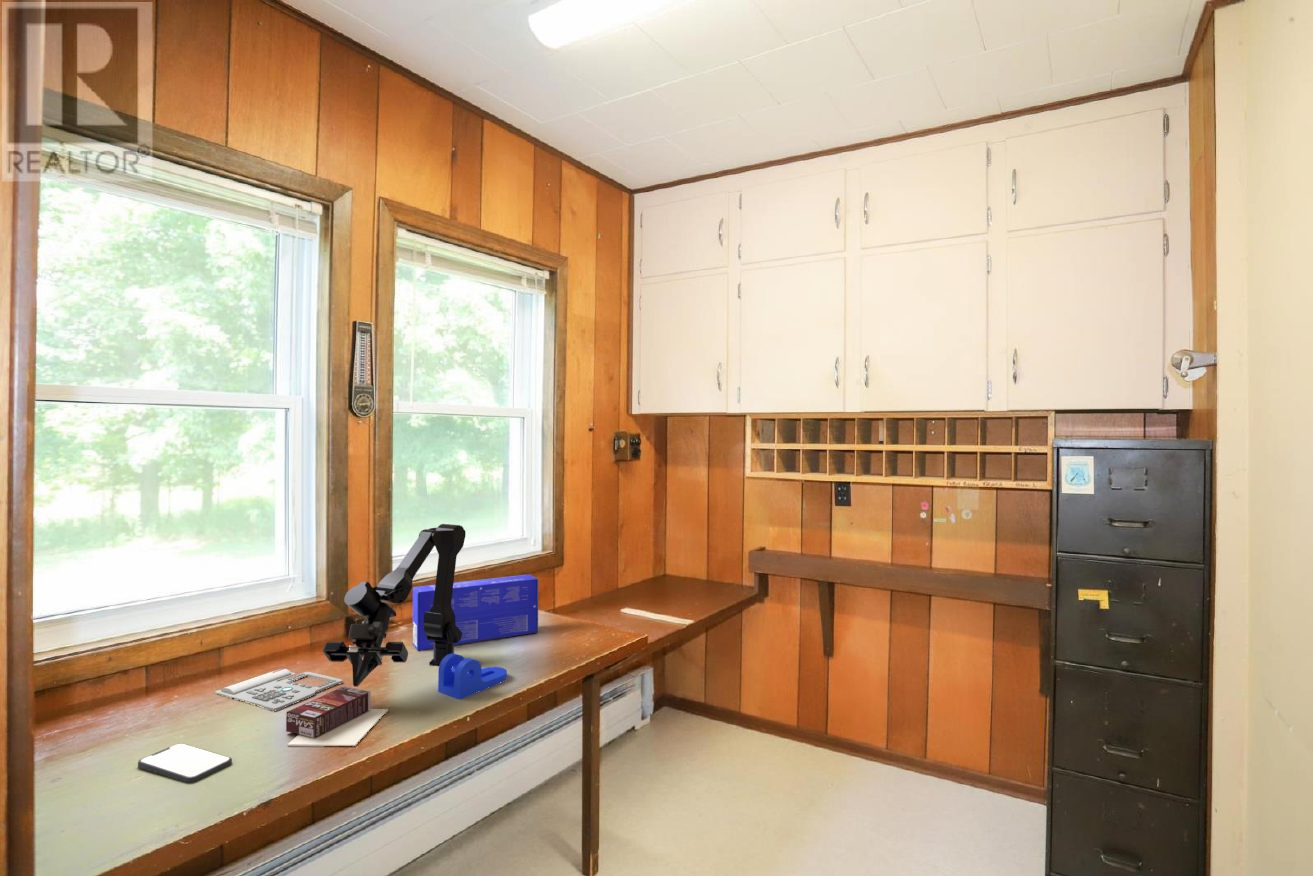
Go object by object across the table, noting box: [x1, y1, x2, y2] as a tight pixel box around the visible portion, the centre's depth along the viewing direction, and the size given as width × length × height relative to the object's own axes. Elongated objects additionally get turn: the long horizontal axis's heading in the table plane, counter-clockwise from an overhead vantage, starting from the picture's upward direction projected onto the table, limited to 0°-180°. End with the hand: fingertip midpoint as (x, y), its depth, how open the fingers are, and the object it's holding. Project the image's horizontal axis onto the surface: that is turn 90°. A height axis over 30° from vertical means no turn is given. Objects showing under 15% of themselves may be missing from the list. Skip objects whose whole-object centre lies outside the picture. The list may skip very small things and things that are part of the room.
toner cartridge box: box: [412, 574, 539, 652], centre depth 212 cm, size 39×8×18 cm, turn 121°
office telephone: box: [214, 667, 343, 712], centre depth 168 cm, size 23×3×20 cm
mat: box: [287, 708, 389, 747], centre depth 147 cm, size 18×14×1 cm
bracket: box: [437, 652, 508, 701], centre depth 173 cm, size 18×8×9 cm, turn 145°
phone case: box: [137, 743, 233, 784], centre depth 129 cm, size 9×2×16 cm
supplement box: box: [285, 686, 372, 738], centre depth 149 cm, size 9×5×16 cm
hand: (355, 686), depth 154 cm, fingers closed
